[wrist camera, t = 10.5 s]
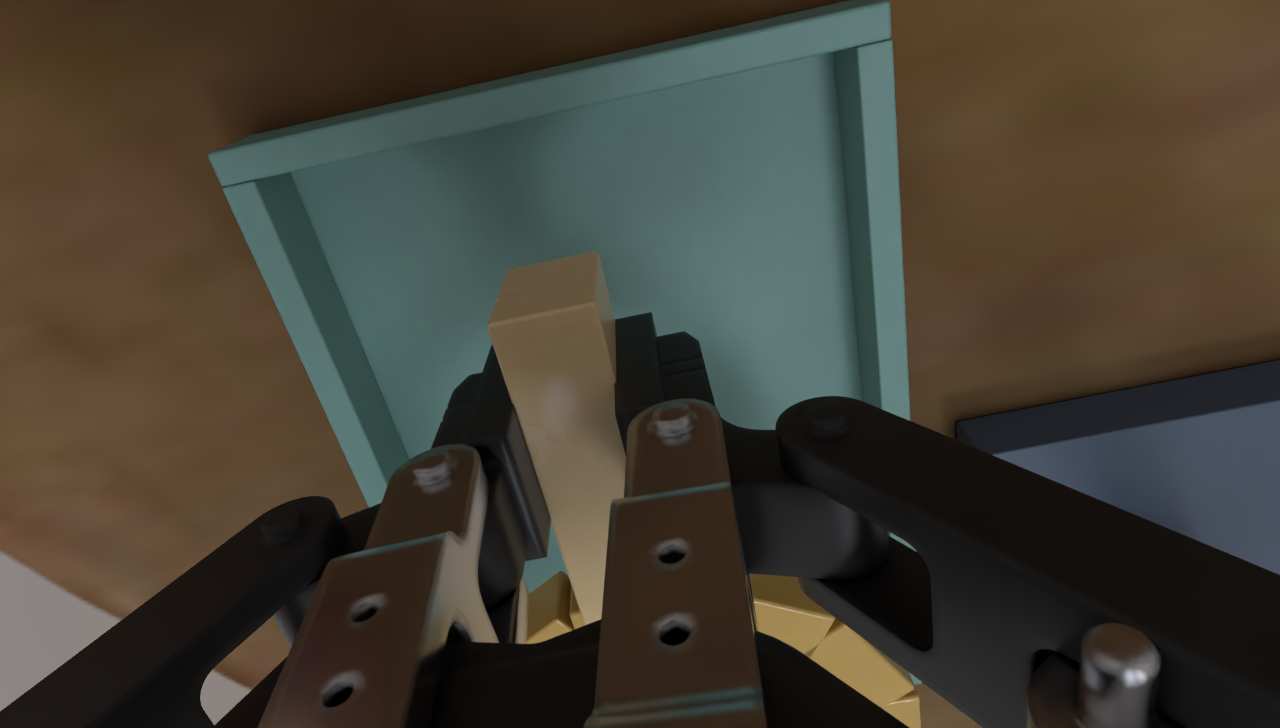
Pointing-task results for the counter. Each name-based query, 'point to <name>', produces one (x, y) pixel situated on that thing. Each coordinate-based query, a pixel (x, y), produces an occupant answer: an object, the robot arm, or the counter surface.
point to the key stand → (1163, 454)
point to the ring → (595, 472)
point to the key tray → (598, 224)
